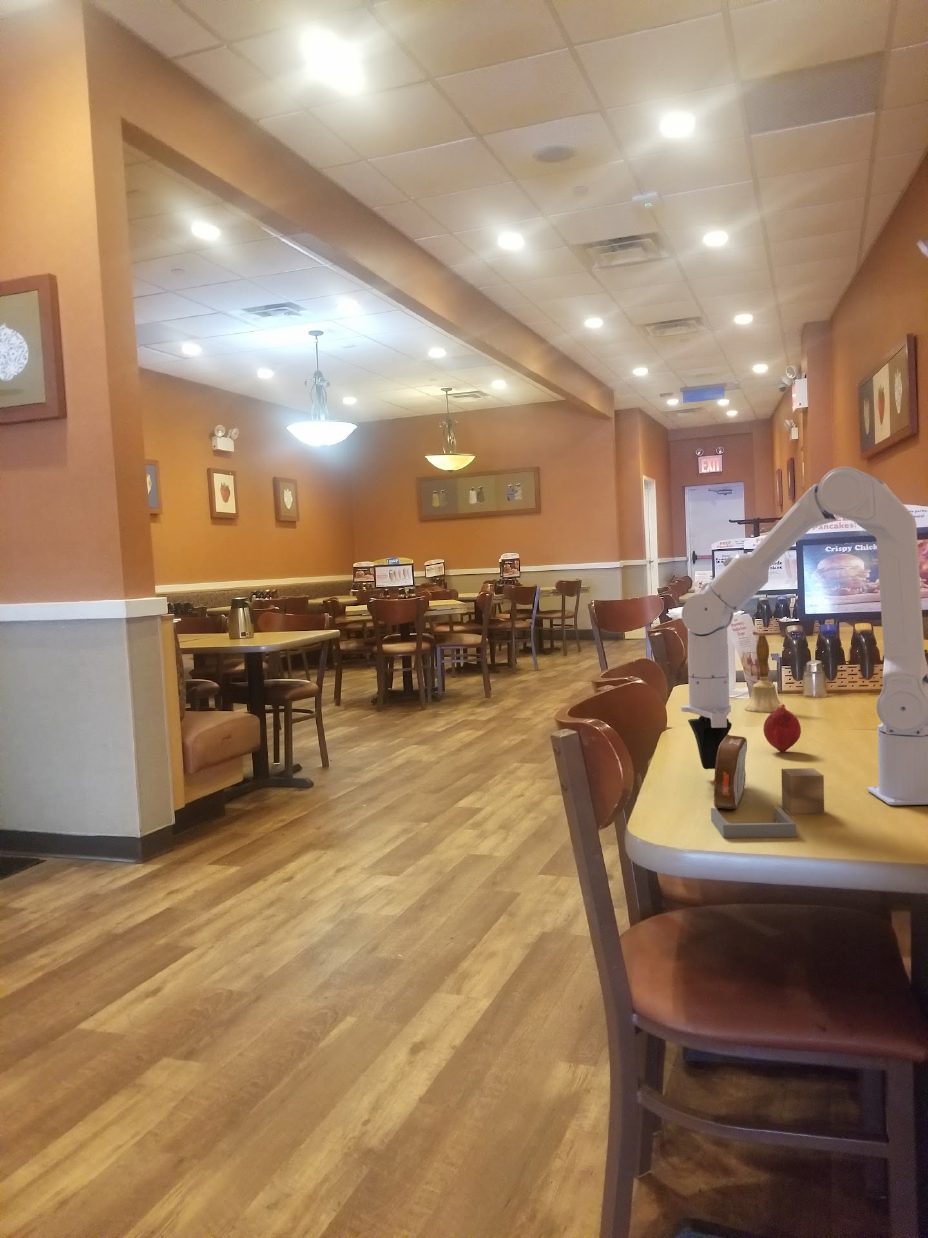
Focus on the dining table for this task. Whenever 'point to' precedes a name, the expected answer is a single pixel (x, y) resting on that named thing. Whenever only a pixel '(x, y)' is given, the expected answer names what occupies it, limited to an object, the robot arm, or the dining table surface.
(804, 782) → the walnut block
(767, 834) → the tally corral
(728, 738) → the tin
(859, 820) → the dining table surface
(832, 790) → the dining table surface
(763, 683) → the hand bell
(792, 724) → the onion
